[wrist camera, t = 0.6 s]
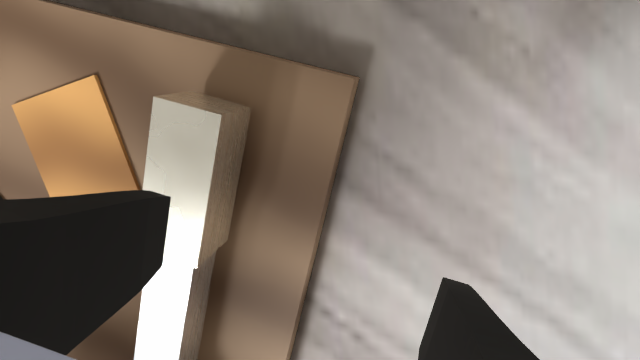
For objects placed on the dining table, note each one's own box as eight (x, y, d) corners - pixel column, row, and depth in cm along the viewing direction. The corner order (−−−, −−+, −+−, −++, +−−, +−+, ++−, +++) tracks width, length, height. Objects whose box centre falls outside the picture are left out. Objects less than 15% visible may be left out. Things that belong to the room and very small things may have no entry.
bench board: (269, 440, 25) (259, 466, 24) (-90, 304, 29) (-121, 319, 27) (359, 77, 19) (353, 78, 18) (-107, -38, 23) (-147, -46, 21)
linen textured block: (199, 447, 24) (163, 510, 20) (137, 422, 24) (91, 480, 21) (263, 109, 18) (227, 121, 15) (181, 88, 19) (130, 94, 16)
